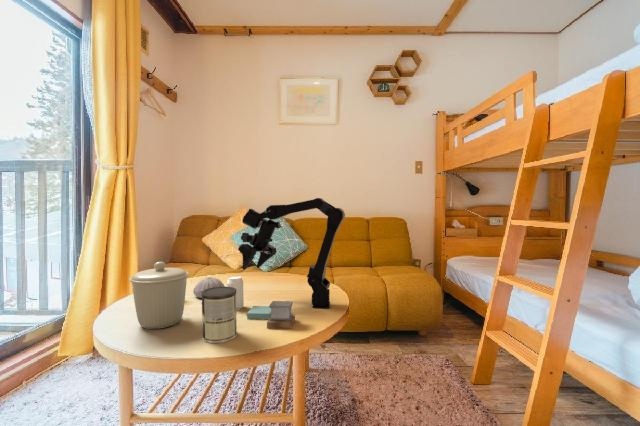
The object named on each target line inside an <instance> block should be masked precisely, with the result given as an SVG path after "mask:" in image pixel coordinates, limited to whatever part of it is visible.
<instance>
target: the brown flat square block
mask: <svg viewBox="0 0 640 426" xmlns="http://www.w3.org/2000/svg"><path fill="white" fill-rule="evenodd" d="M295 321H296V314H294V313H293V317H292V319H291V321H270V319H267V321H266V329H273V330H274V329H276V330H277V329H278V330H279V329H280V330H284V329H285V330H292V328H293V327H294V324H295Z"/></svg>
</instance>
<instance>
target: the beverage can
mask: <svg viewBox="0 0 640 426" xmlns="http://www.w3.org/2000/svg"><path fill="white" fill-rule="evenodd" d="M226 287H233V288H235V289H236V311H238V310H241V309H242V308H243V307H244V306H245V305H244V304H245V303H244V301H245V300H244V280H243V279H242V276H239V275H231V276H229V277H228V279H227V281H226Z"/></svg>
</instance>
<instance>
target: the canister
mask: <svg viewBox="0 0 640 426" xmlns="http://www.w3.org/2000/svg"><path fill="white" fill-rule="evenodd" d="M189 274H190V272H188V271H187V270H184V268H180V267H166V263H165V262H164V261H157V262H155V263H153V268H150V269H144V270H141V271H138V272H136V273H134V274H133V275H132V276H130V277H129V278H128V281H130V283H131V287H132V295H133V301H134V307H135V312H136V318H137V322H138V324H139V325H140V327H142V328H144V329H147V330H148V329H149V330H150V329H151V330H152V329H153V330H154V329H156V330H157V329H164V328H168V327H172V326H174V325H176V324H177V323H179V322H180V321H181V320H182V318H183V315H184V309H185V300H186V292H187V291H186V290H187V279H188V278H187V277H189Z"/></svg>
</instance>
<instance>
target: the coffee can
mask: <svg viewBox="0 0 640 426" xmlns="http://www.w3.org/2000/svg"><path fill="white" fill-rule="evenodd" d="M201 296H202V298H201V321H202V322H201V323H202V324H201V326H202V327H201V328H202V330H201V331H202V337H201V338H202V340H203V342H206V343H208V344H221V343H225V342H229V341H231V340H233V339H235V338H236V337H237V335H238V332H237V331H238V330H237V329H238V327H237V321H238V320H237V310H236V289H235V288H233V287H227V286H225V287H213V288H209V289H206V290H204V291H202V292H201Z"/></svg>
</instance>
